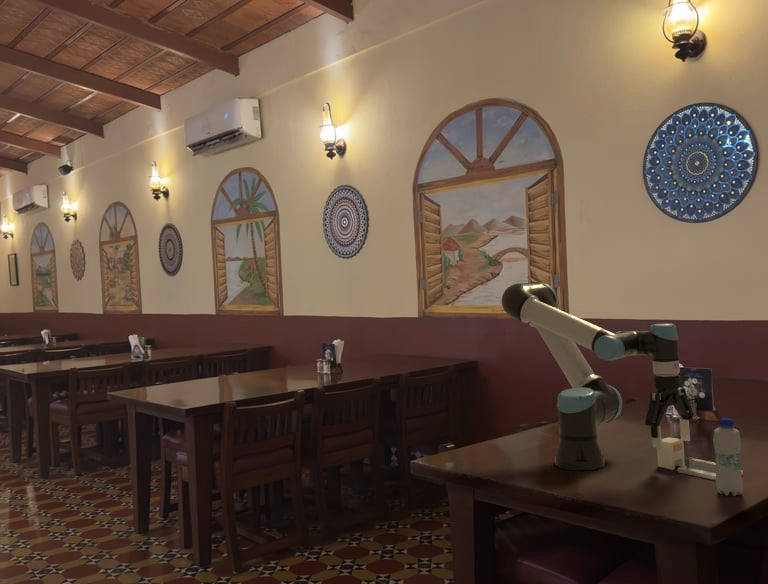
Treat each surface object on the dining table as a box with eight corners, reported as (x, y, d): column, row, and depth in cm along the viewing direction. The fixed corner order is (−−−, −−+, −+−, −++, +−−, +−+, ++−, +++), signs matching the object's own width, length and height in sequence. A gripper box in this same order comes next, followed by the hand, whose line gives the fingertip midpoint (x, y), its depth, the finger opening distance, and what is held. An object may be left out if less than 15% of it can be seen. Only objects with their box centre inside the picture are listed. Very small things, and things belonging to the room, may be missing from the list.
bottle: (735, 489, 186) (731, 414, 186) (749, 496, 180) (745, 419, 179) (710, 490, 186) (706, 416, 186) (723, 498, 179) (719, 421, 179)
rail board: (722, 481, 193) (721, 469, 193) (677, 471, 205) (677, 460, 205) (743, 475, 198) (742, 463, 198) (698, 465, 210) (697, 454, 210)
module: (672, 469, 207) (671, 443, 207) (658, 466, 212) (656, 440, 212) (685, 466, 211) (683, 439, 210) (670, 462, 215) (669, 437, 215)
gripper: (651, 380, 201) (656, 453, 201) (702, 370, 214) (707, 439, 214) (629, 378, 207) (634, 449, 207) (681, 369, 221) (685, 435, 221)
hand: (671, 444), depth 211 cm, fingers open, 13 cm apart
